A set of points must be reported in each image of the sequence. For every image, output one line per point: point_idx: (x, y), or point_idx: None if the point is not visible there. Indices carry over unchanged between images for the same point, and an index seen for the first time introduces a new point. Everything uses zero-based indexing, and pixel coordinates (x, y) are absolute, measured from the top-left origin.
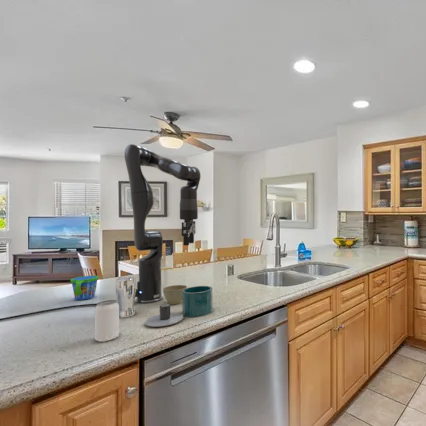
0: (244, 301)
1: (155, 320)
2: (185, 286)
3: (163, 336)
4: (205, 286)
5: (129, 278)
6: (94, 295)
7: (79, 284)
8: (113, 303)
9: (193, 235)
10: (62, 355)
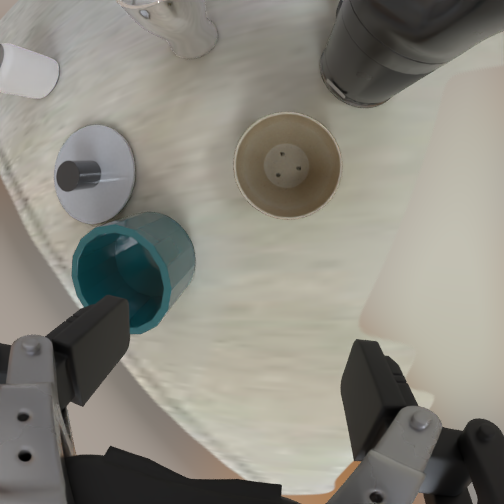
0: (222, 390)
1: (83, 151)
2: (312, 210)
3: (22, 196)
4: (157, 312)
5: None
6: None
7: None
8: None
9: (354, 459)
10: None
